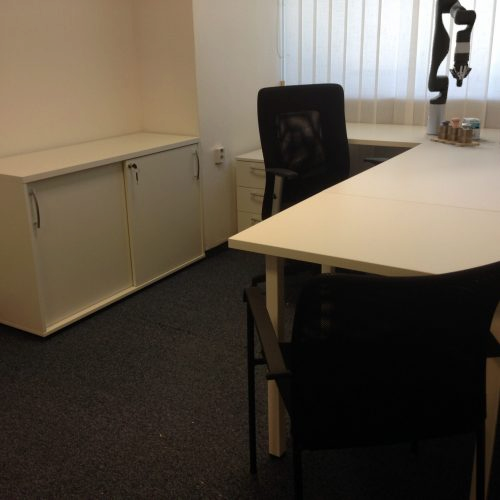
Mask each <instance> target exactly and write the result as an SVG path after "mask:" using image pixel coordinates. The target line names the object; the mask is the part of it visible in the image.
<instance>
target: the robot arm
mask: <svg viewBox="0 0 500 500" xmlns="http://www.w3.org/2000/svg"><path fill="white" fill-rule="evenodd" d="M434 6H435V9H434V27H433V28H434V30H433V38H432V45H431V47H432V49H431V60H430V68H429V74H428V82H427V89H428V91H429V92H430V93H438V94H437V95H436V96H433V97H431V98H430V99H429V108H428V117H427V121H426V122H427V123H426V134H427V135H437V136H438V130H439V126H441V125H443V123H442V121H443V120H446V109H447V108H446V107H447V100H448V94H449V93H448V92H449V84H450V79H449V76H448V75H447V74H442V75H440V74H439V75H438V72H439V68H440V67H441V65H442V63H443V61H444V60H445V59H446V57H447V55H448V54H449V52H450V47H451V46H450V45H451V44H450V43H451V36H450V34H449V32H448V30H447V29H446V26H445V24H444V21H443V15H445V14H450V17H451V18H452V19H453V23H454V24H455V25H456V26H466V27H465V28H464V29H459V30H457V31H456V35H455V36H456V37H455V43H454V44H455V45H454V53H453V66H452V68H449V73H450V74H451V76H452V77H453V79H455V80H456V82H455V85H456V87H457V88H462V86H463V84H464V83H463V82H464V81H463V80H464V79H466V78H467V77H468V76H469V74H470V73H471V71H472V70H473V68H472V67H470V66H469V62H470V55H471V53H470V52H471V37H472V31H473V29H474V25H475V22H476V19H477V13H476V11H475V9H466V7H464V6H463V5H462V4H461V3H460V0H435V5H434Z"/></svg>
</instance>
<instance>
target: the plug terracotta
mask: <svg viewBox="0 0 500 500" xmlns="http://www.w3.org/2000/svg"><path fill="white" fill-rule="evenodd" d="M451 122H452V126H453V128H459V127H460V122H461V117H452V118H451Z"/></svg>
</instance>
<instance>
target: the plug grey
mask: <svg viewBox="0 0 500 500" xmlns="http://www.w3.org/2000/svg"><path fill="white" fill-rule="evenodd" d="M470 126H471V124H468V123H464V124H463V123H461V127H462V128H463V130H469V127H470Z"/></svg>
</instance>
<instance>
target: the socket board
mask: <svg viewBox="0 0 500 500" xmlns="http://www.w3.org/2000/svg"><path fill="white" fill-rule="evenodd" d="M472 137H473V129H469V130H463V127H462V126H459V128H453V125H449V126H443V125H441V126H439V130H438V135H437V137H433V138H430V139H429V140H430V141H431V140H432V142H437V143H441V142H442V144H445V143H446V145H450V144H451V145H452V146H457V147H461V148H463V147H471V146H480V145H481V143H480V142H477V141H473V140H472Z"/></svg>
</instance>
